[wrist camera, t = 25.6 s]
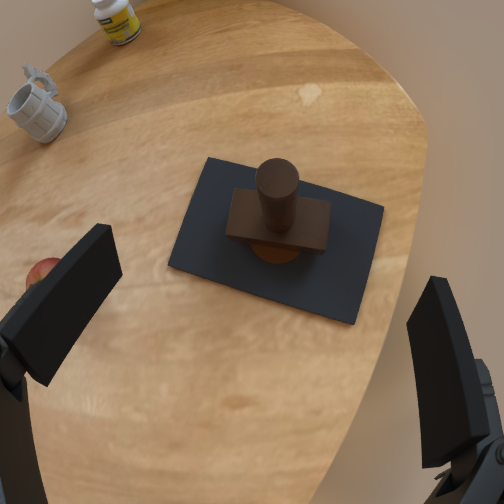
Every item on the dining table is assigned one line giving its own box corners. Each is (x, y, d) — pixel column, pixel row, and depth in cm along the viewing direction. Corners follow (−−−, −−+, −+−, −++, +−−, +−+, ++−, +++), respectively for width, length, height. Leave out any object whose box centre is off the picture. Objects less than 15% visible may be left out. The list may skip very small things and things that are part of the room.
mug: (33, 150, 42) (-11, 120, 30) (48, 97, 44) (13, 64, 32) (63, 139, 41) (19, 103, 29) (78, 85, 43) (44, 47, 31)
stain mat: (383, 208, 34) (384, 206, 34) (353, 324, 32) (354, 325, 32) (209, 158, 37) (207, 156, 37) (169, 265, 36) (167, 264, 35)
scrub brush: (327, 213, 34) (352, 157, 20) (321, 256, 33) (346, 224, 20) (239, 200, 35) (214, 138, 22) (231, 242, 35) (198, 202, 21)
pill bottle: (106, 48, 44) (80, 9, 33) (119, 28, 45) (96, -11, 34) (135, 43, 43) (110, 0, 32) (147, 22, 44) (126, -19, 33)
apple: (43, 300, 37) (5, 297, 29) (64, 252, 38) (26, 241, 30) (78, 332, 35) (39, 335, 28) (102, 281, 36) (63, 274, 28)
